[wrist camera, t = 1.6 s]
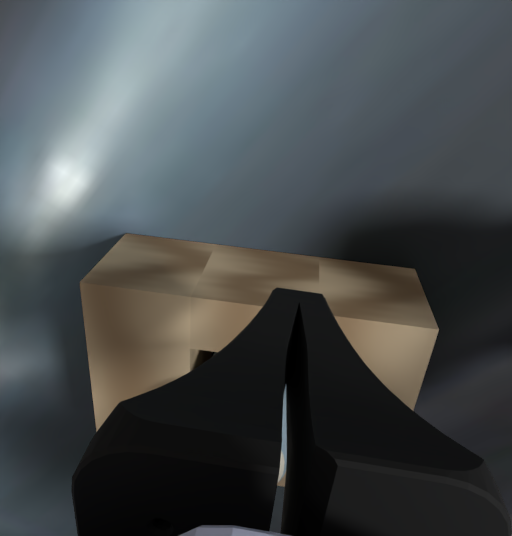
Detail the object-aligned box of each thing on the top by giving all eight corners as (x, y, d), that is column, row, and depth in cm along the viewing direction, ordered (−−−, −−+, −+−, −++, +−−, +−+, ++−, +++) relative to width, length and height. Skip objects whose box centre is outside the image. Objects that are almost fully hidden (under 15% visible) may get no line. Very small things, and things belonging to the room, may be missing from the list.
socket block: (414, 268, 22) (440, 332, 17) (373, 423, 26) (384, 506, 22) (125, 233, 23) (77, 284, 18) (134, 388, 27) (97, 460, 23)
